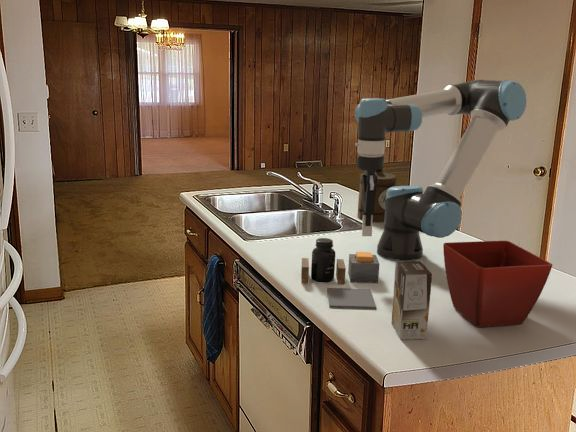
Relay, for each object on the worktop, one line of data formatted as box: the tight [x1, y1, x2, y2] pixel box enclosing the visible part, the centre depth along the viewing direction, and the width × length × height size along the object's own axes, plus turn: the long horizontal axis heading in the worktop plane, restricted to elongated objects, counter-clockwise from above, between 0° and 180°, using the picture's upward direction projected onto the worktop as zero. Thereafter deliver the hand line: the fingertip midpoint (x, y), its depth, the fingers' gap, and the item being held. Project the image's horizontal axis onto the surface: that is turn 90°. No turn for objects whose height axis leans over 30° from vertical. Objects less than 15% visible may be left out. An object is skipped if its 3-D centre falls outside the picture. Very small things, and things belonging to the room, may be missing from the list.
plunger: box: [355, 251, 373, 262], centre depth 164 cm, size 4×4×6 cm
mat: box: [326, 287, 377, 310], centre depth 150 cm, size 12×12×1 cm
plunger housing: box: [347, 253, 380, 284], centre depth 164 cm, size 8×8×6 cm
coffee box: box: [391, 260, 433, 340], centre depth 130 cm, size 9×6×16 cm
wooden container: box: [357, 168, 397, 223], centre depth 231 cm, size 15×15×22 cm
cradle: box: [300, 257, 347, 286], centre depth 163 cm, size 12×8×5 cm, turn 89°
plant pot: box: [442, 240, 553, 328], centre depth 139 cm, size 19×19×17 cm
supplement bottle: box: [310, 237, 336, 284], centre depth 162 cm, size 7×7×12 cm
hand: (366, 235), depth 162 cm, fingers closed
